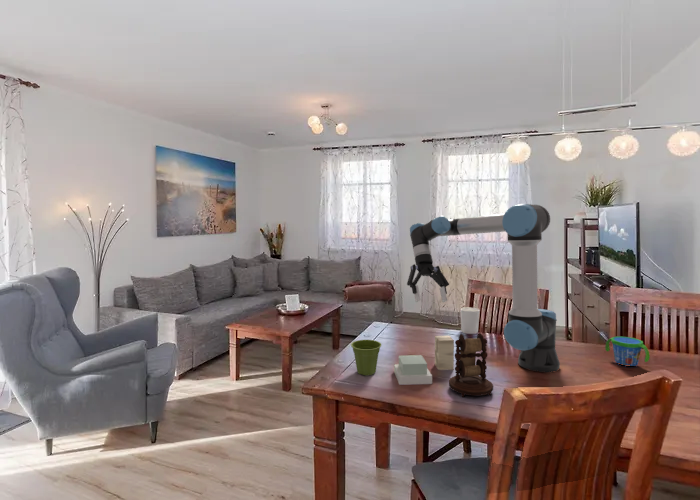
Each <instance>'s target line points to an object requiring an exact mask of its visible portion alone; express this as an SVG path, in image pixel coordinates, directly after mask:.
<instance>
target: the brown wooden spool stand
mask: <svg viewBox="0 0 700 500" xmlns="http://www.w3.org/2000/svg"><path fill="white" fill-rule="evenodd" d="M487 344H488V340H487V339H486V338H485V337H484V335H483V334H482V333H479V332H478V333H477V336H476V337H474V338H465V336H464V335H463V334H462V333H461V334H459V337H458V339H456V340H454V345H455V352H454V359H455V360H456V361H455V367H454V371H455V372H454V373H455V375H454V376H452V377H450V378H449V380H448V386H449V388H450V389H452V391H455V392H457V393H460V394H461V397H462V398H465V395H467V396H479V397H480V396H485V395H488V396H491V395H492V392H493V391H494V384H493V383H492V381H491V380H488V379H487V374H486V373H487V360H486V359H487V357H488V352H487V346H488V345H487ZM480 357H481V359H482V360H481V359H479V358H480ZM476 358H477V360H476Z"/></svg>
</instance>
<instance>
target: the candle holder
mask: <svg viewBox="0 0 700 500" xmlns="http://www.w3.org/2000/svg"><path fill="white" fill-rule="evenodd" d="M480 311H481V310H480V309H479V308H476V307H470V306H469V307H461V308H460V327H461V328H460V330H461V332H462V333H464V334H466V335H476V334H479V324H480V323H479V322H480Z"/></svg>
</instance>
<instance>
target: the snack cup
mask: <svg viewBox="0 0 700 500" xmlns="http://www.w3.org/2000/svg"><path fill="white" fill-rule="evenodd" d="M610 342H611V344H612V348H613V350H612V351H613V357H614V361H616V362H617V363H620V364H623V365H630V366H636V365H637V366H638V364H639V360H640V358H641V357H640V356H641V352H642V349H643V350H644V353H645V356H644V362H645V363H647V362H649V361H650V351H649V349H648V347H647V346H646V345H645V344H644V341H643V340H640V339H638V338H635V337H630V336H629V337H628V336H621V335H620V336H613V337H610V338H608V339H607V341H606V342H605V346H604V348H605V352H610V351H611V348H610ZM616 362H615V363H616ZM637 366H636V367H637Z"/></svg>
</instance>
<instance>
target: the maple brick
mask: <svg viewBox="0 0 700 500" xmlns="http://www.w3.org/2000/svg"><path fill="white" fill-rule="evenodd" d="M454 359H455V339H454V338H453V337H452V336H451V335H435V336H434V366H435V367H436V369H437V370H438V371H453V370H454V371H455V367H454V362H455V360H454Z"/></svg>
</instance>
